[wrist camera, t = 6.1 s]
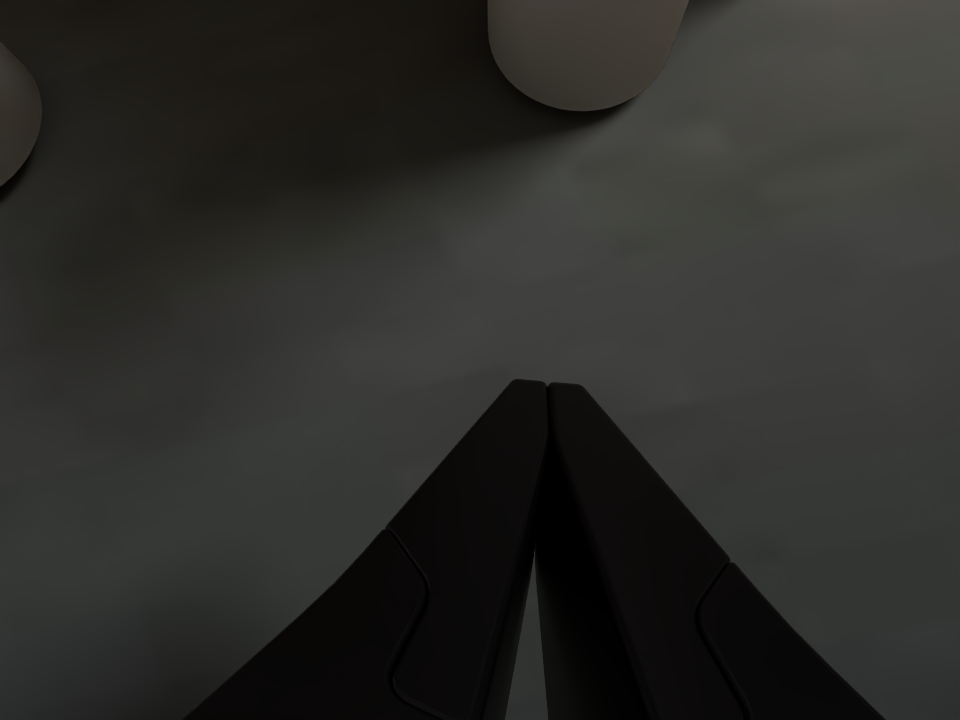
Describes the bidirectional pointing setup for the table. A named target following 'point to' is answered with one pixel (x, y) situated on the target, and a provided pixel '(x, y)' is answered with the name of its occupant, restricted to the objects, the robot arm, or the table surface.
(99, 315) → the table surface
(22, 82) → the grey capped bottle
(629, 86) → the white cylinder
